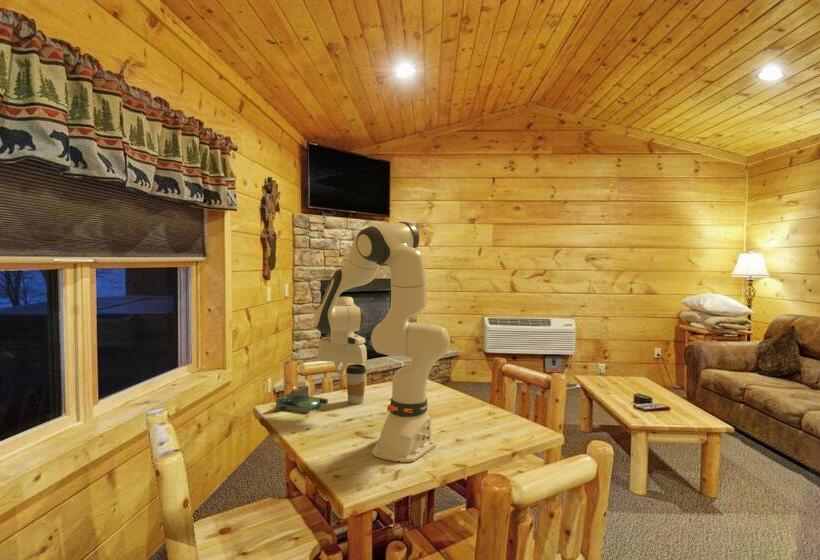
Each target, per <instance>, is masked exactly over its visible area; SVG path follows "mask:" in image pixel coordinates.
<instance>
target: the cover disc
mask: <svg viewBox="0 0 820 560" xmlns="http://www.w3.org/2000/svg"><path fill="white" fill-rule="evenodd" d="M311 397H312V396H310V397H307V398H300V399H297V400H295V401H294V405H293V406H294V407H301V408H307V409H310V411H314V409H315V410H318V409H320V407H321V403H320V400H319V399H317V398H318V397H317V398H311ZM317 408H318V409H317Z"/></svg>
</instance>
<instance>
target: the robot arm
mask: <svg viewBox="0 0 820 560" xmlns="http://www.w3.org/2000/svg"><path fill="white" fill-rule="evenodd" d="M419 243H420V234H419V231H418V228H417V227H416V225H414V224H413V223H411V222H407V221H399V222H390V223H389V222H386V223H385V222H384V223H380V224H377V225H374V226H372V225H370V226H368V227H365V228H363V229H362V230H359V232H357V234H356V235H355V237H354V239H353V242H352V244H351V246H350V250H349V253H348V257H347V260H346V262H345V263H343V265H342V266H341V267H340V268H339V269H337V270H335V271H334V273H333V275H332V276H331V278H330V280H329V283H328V285H327V288H326V289H325V292H324V294H323V296H322V299H321V301H320V303H319V304H318V306H317V307H316V310H315V311H314V316H313V325H314V327H315V329H316V330H318V331H319V332H320V333H321V334H327V333H328V334H329V333H330V336H329V337H327V336H322V337H321V338H320V339H319V340H318V349H317V360H318V361H319V362H330V363H334V366H335V369H336V375H346V374H347V373H346V369H347V367H348V365H350V364H351V365H353V364H360V365H365V363H366V362H367V360H368V359H367V358H368V355H367V354H368V353H367V346H366V345H365V343H366V338H365V337H363V336H361V335H359V334H356V333H355V332H358V331H360V330H362V328H363V327H364V326H365V323H366V322H365V320H366V317H365V315H366V313H365V311H364V310H363V309H362V308H361V307H360V306H357V305H356V304H355V302H354V298H353V297H352V296H348V295H347V296H346V295H345V296H344V295H343V296H341V294H342V293H343V292H346V291H347V290H351V289H354V288H358V287H361V286H365V285H368V284H369V283H371V282H372V281H373V280H374V279H375V278H376V276H377V274H378V272H379V269H380V266H382V265H384V264H385V263H386V264H387V265H388V266H389V269H390V307H389V310H388V313H387V314H386V316H385V317H384V319H383V320H382V321H381V322H379V323H377V324H376V326H375V327H374V328H373V330H372V332H371V336H370V342H371V345H372V347H373V348H372V349H374V351H375V353H377V354H381V355H382V354H383V355H385V356H389V357H404V358H405V357H407V358H411V362H410V363H409V364H408V365H406V366H403V367H401V368H399V369H397V370H396V371H395V372H394V373H393V376H392V382H391V383H392V389H391V390H392V392H391V399H390V403H389V404H388V405H387V406H386V411H387V412H388V414H387V416H386V419H385V422H384V423H383V426H382V429H381V431H380V434H379V435H380V437H379V439H378V440H377V442H376V443H375V445H374V447H373V449H372V450H371V455H373V456H374V457H376V458H379V459H382V460H386V461H392V462H398V461H400V462H399V463H413V462H415V461H417V460H418V459H420V458H421V457H423V455H425V454H427V453H428V452H429V451H431V450H432V449H434V448H436V446H437V442H436V441H435V440H433V431H432V427H433V426H432V419H431V417H430V416H429V415H428V412H427V411H428V406H429V404H428V399H427V386H428V385H427V384H428V377H429V374H430V371H431V370H432V367H433V366H434V365H435V363H436V362H437V361H439V359H441V358H443V357H444V356H445V355H446V353H448V351H449V349H450V345H451V338H450V334H449V332H448V330H447V329H446V327H445V326H441V325H437V324H433V323H419V322H417V323H416V322H410V321H409V318H411V317H413V316H415V315H418V314H419V313H420V312H422V311H423V310H424V309H425V308H426V305H427V276H426V267H425V260H424V256H423V253H422V252H421V251H420V250H419V249H417V247H418V246H419ZM341 363H342V366H343V367H342V368H341ZM419 457H420V458H419ZM416 459H417V460H416ZM412 461H413V462H412Z"/></svg>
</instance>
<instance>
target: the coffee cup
mask: <svg viewBox="0 0 820 560" xmlns="http://www.w3.org/2000/svg"><path fill="white" fill-rule="evenodd" d="M366 372H367V368H366V365H365V364H349V365H348V367H347V369H346V373H345V374H346V391H347V401H348V403H349V404H350V405H351V404H352V405H360V404H363V403H364V399H365V388H366Z"/></svg>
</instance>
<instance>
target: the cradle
mask: <svg viewBox="0 0 820 560" xmlns="http://www.w3.org/2000/svg"><path fill="white" fill-rule="evenodd" d="M309 387H310V386H309V385H304V386H302V387H299V388H297V389H296V386H291V387H290V392H288V393H286V394H283V395H282V396H279V397H276V398H275V411H276V412H277V413H280V412H282V411H286V410H288V412H292V411H295V412H294V413H298V412H299V413H300V414H306V415H308V414H309V413H310V412H311V410H310V409H307V408H301V407H294V405H293V404H294V401H295V400H297V399H300V398H307V397H311V398H317V399H319V400H320V404H324V405H325V404H329V398H323V397H315V396H309V393H310V392H309V390H310V389H309ZM291 405H293V406H291Z"/></svg>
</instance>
